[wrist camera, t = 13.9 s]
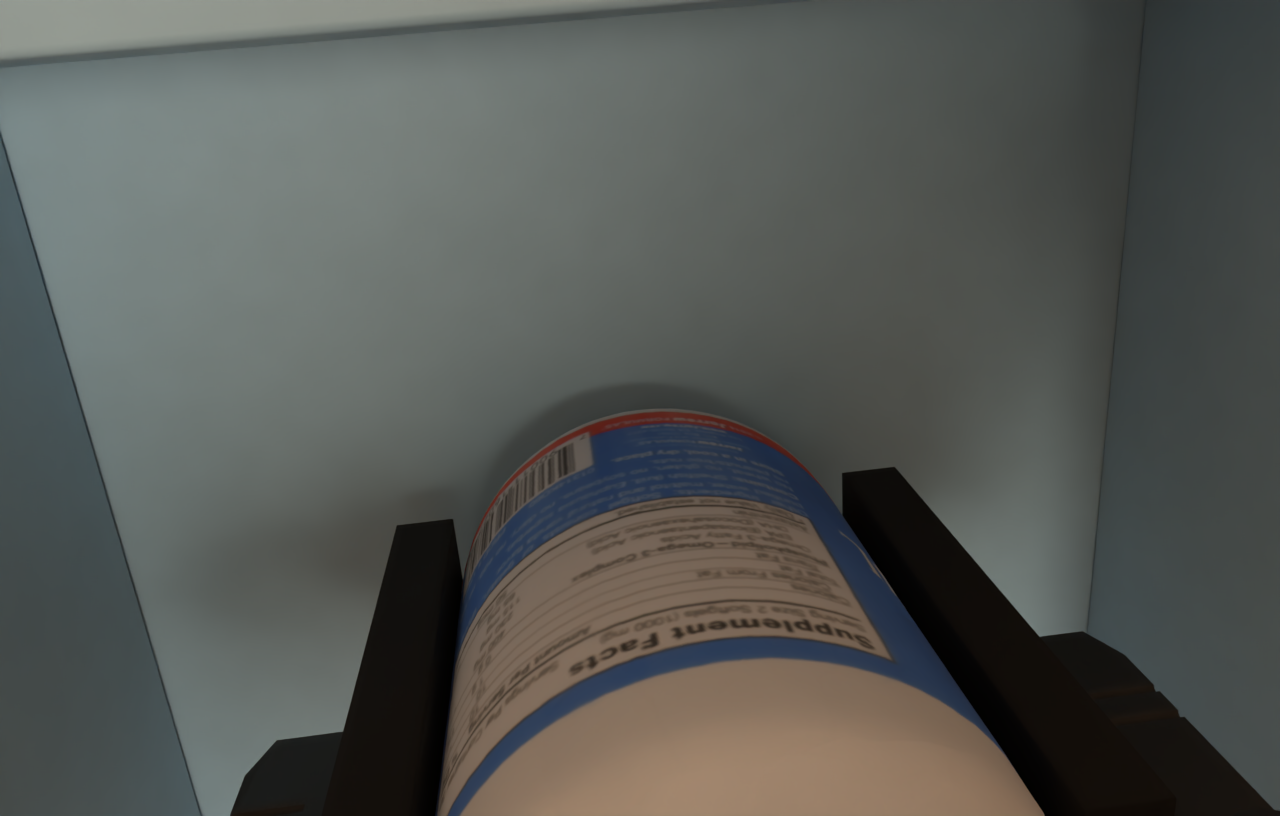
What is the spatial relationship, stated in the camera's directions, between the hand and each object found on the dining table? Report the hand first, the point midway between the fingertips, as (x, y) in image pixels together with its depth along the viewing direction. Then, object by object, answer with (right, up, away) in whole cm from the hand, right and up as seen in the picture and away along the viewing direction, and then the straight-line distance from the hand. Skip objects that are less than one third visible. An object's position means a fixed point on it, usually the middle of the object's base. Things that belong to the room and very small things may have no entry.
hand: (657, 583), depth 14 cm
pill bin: (0, +1, +2) cm, 2 cm away
